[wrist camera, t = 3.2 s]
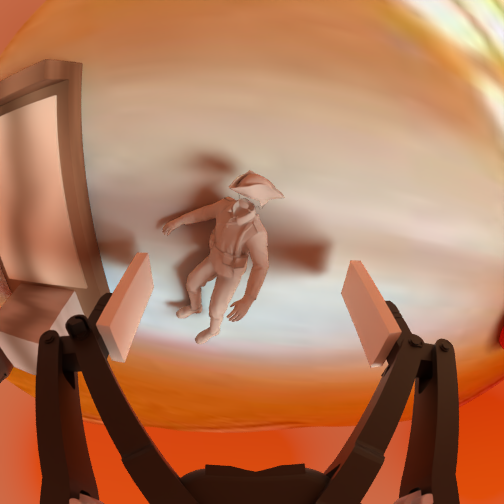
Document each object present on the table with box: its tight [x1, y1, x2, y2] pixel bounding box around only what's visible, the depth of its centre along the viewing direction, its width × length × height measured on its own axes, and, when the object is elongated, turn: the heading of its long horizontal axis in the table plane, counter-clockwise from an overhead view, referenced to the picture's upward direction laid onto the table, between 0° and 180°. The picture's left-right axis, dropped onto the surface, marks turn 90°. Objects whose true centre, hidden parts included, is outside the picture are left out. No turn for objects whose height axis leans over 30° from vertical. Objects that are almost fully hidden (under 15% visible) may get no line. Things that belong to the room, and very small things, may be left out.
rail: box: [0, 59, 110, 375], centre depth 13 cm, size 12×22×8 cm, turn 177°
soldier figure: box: [162, 170, 285, 344], centre depth 17 cm, size 8×5×12 cm
